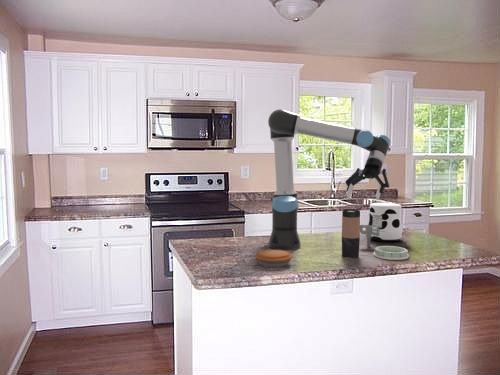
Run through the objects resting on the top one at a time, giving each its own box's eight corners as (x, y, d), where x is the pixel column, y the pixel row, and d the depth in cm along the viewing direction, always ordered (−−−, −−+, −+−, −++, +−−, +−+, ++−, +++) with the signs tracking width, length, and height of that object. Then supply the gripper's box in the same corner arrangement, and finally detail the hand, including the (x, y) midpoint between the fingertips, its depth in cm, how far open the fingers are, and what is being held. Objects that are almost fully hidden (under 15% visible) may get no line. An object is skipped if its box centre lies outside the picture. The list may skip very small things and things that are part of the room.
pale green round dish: (378, 260, 195) (378, 253, 195) (369, 251, 210) (369, 245, 210) (414, 259, 195) (414, 253, 195) (402, 251, 210) (402, 245, 210)
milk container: (399, 237, 243) (400, 202, 241) (405, 244, 226) (406, 207, 224) (365, 236, 245) (366, 202, 243) (368, 243, 228) (369, 206, 226)
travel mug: (362, 257, 199) (364, 211, 197) (347, 259, 196) (348, 212, 194) (352, 253, 206) (353, 208, 204) (337, 255, 203) (338, 209, 201)
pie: (257, 258, 198) (257, 246, 198) (294, 260, 195) (294, 248, 195) (251, 268, 183) (251, 255, 182) (290, 270, 180) (290, 257, 180)
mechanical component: (380, 247, 218) (380, 226, 217) (357, 246, 220) (358, 225, 219) (379, 246, 221) (380, 225, 220) (357, 245, 223) (358, 224, 222)
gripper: (403, 168, 213) (391, 204, 203) (352, 167, 228) (338, 200, 217) (399, 157, 209) (387, 193, 198) (347, 156, 223) (333, 190, 212)
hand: (362, 197), depth 207 cm, fingers open, 13 cm apart
